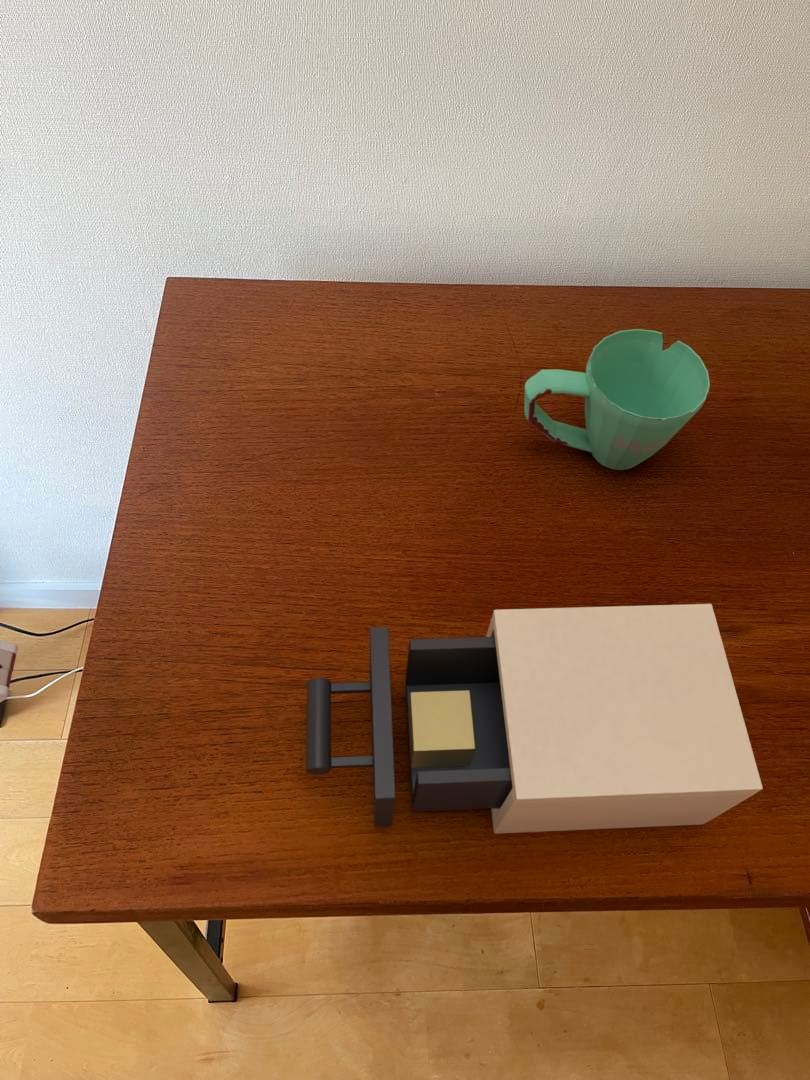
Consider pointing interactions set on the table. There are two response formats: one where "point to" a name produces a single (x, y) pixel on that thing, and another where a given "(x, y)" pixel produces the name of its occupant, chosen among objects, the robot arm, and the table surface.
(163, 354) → the table surface
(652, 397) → the mug
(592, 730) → the beige cabinet housing
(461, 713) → the block
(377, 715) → the drawer
